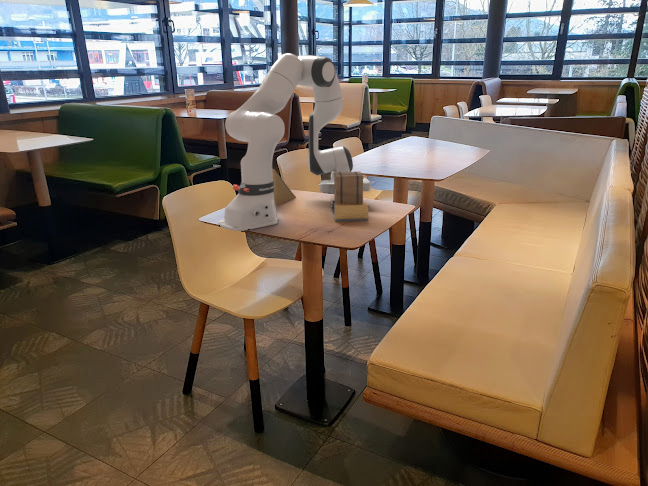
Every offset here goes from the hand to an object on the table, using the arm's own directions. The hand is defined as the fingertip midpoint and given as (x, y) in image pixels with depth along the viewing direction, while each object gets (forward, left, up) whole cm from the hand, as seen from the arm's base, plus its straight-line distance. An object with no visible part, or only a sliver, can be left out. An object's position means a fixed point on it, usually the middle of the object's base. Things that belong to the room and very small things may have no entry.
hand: (346, 190), depth 190 cm
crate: (-3, -3, -5) cm, 6 cm away
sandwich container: (-7, +33, -8) cm, 34 cm away
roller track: (-2, -3, -8) cm, 9 cm away
